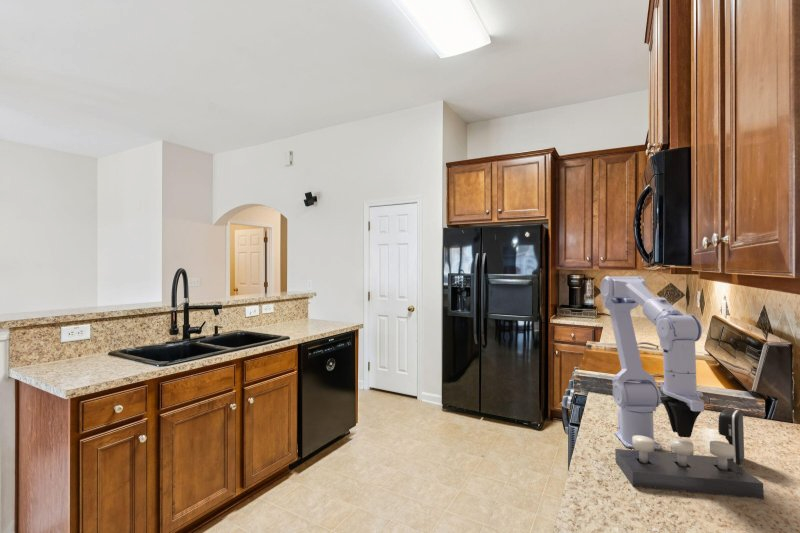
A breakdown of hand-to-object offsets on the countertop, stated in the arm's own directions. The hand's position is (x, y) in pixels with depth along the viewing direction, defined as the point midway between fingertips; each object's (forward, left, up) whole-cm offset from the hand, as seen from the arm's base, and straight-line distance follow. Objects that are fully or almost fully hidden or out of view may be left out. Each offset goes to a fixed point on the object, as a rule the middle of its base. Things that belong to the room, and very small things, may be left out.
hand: (681, 434), depth 83 cm
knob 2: (0, +8, -6) cm, 10 cm away
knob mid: (0, 0, -7) cm, 7 cm away
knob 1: (0, -8, -7) cm, 10 cm away
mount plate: (0, 0, -9) cm, 9 cm away
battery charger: (-12, +16, -10) cm, 22 cm away
